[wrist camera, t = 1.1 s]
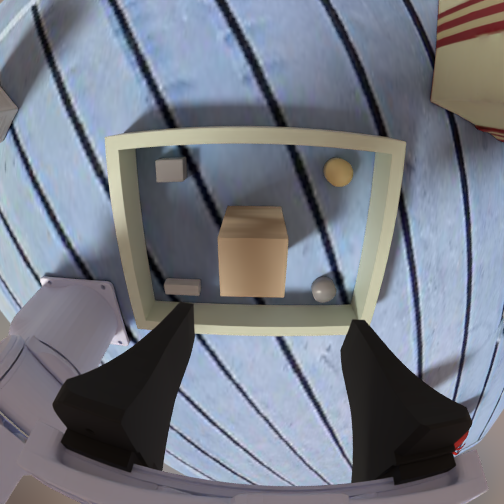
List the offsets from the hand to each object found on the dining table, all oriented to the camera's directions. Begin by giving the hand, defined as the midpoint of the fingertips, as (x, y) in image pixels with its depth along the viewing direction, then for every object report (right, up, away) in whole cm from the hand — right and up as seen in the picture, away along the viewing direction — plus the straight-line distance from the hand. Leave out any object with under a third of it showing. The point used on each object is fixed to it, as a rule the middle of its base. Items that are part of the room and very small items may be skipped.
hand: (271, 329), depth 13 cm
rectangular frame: (-1, +5, +10) cm, 11 cm away
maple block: (-1, +5, +10) cm, 11 cm away
